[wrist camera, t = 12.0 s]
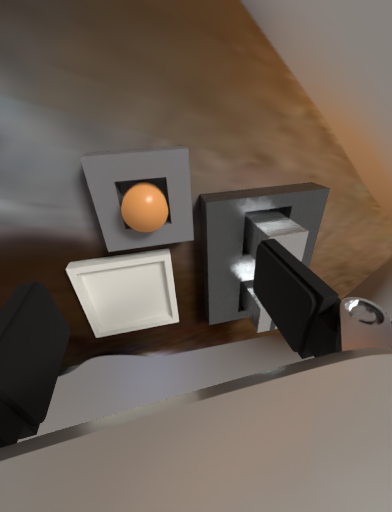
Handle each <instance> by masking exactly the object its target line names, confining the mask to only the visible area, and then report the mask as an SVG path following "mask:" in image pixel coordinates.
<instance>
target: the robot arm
mask: <svg viewBox="0 0 392 512" xmlns="http://www.w3.org/2000/svg"><path fill="white" fill-rule="evenodd" d="M253 292H254V294H255V295H256V297H257V298H258V300H259V301H260V303H261V304H262V306H263V307H264V309H265V310H266V312H267V313H268V315H269V316H270V318H271V319H272V321H273V322H274V324H275V325H276V327H277V328H278V330H279V331H280V333H281V334H282V335H283V337H284V338H285V340H286V341H287V343H288V344H289V345H290V347H291V349H292V350H293V351H294V352H298V354H299V355H300V357H301V358H302V359H303V358H307V357H311V356H314V357H315V358H313V359H308V360H304V361H301V362H297V363H293V364H289V365H286V366H282V367H278V368H275V369H271V370H268V371H264V372H261V373H257V374H254V375H250V376H246V377H243V378H239V379H236V380H232V381H228V382H225V383H222V384H218V385H214V386H211V387H207V388H204V389H200V390H197V391H194V392H190V393H186V394H183V395H179V396H176V397H173V398H169V399H165V400H162V401H158V402H155V403H151V404H148V405H145V406H141V407H138V408H134V409H130V410H127V411H124V412H120V413H117V414H113V415H110V416H107V417H103V418H100V419H96V420H93V421H89V422H86V423H82V424H79V425H76V426H72V427H69V428H65V429H62V430H58V431H55V432H52V433H48V434H45V435H41V436H38V437H35V438H32V439H29V440H25V441H22V442H19V443H17V441H18V439H22V438H26V437H30V436H33V435H36V434H37V431H38V428H39V425H40V423H42V422H43V421H44V419H45V417H46V415H47V411H48V407H49V404H50V401H51V398H52V394H53V391H54V388H55V384H56V381H57V378H58V374H59V371H60V368H61V364H62V361H63V358H64V354H65V351H66V347H67V344H68V341H69V337H70V327H69V325H68V324H67V322H66V320H65V319H64V317H63V315H62V314H61V312H60V310H59V309H58V307H57V305H56V303H55V302H54V300H53V298H52V297H51V295H50V293H49V292H48V290H47V288H46V287H45V285H43V284H39V283H38V282H31V283H26V284H20V285H18V286H17V288H16V289H15V291H14V292H13V293H12V295H11V296H10V298H9V299H8V301H7V302H6V304H5V305H4V306H3V308H2V309H1V311H0V512H392V321H391V320H390V318H389V316H388V314H387V313H386V312H385V310H384V309H383V308H381V307H380V306H378V305H377V304H375V303H373V302H371V301H369V300H366V299H363V298H356V297H351V298H350V297H349V298H346V299H343V300H342V301H341V300H340V299H339V298H338V295H339V294H337V293H336V292H335V291H334V290H333V289H332V288H331V287H329V286H328V285H327V284H326V283H325V282H324V281H322V280H321V279H320V278H319V277H318V276H317V275H316V274H314V273H313V272H312V271H311V270H310V269H309V268H308V267H306V266H305V265H304V264H303V263H302V262H301V261H300V260H298V259H297V258H296V257H295V256H294V255H293V254H292V253H290V252H289V251H288V250H287V249H286V248H285V247H284V246H282V245H281V244H280V243H279V242H278V241H277V240H275V239H267V240H262V241H261V242H260V244H258V245H257V251H256V261H255V270H254V279H253Z"/></svg>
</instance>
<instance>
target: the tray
mask: <svg viewBox="0 0 392 512" xmlns="http://www.w3.org/2000/svg"><path fill="white" fill-rule="evenodd" d="M66 271H67V274H68V276H69V278H70V280H71V283H72V285H73V287H74V289H75V291H76V294H77V296H78V298H79V300H80V303H81V305H82V307H83V309H84V312H85V314H86V316H87V318H88V321H89V323H90V325H91V327H92V330H93V332H94V334H95V336H96V338H99V337H104V336H109V335H114V334H119V333H124V332H129V331H135V330H140V329H145V328H150V327H155V326H160V325H165V324H170V323H176V322H179V318H178V310H177V302H176V295H175V287H174V280H173V272H172V264H171V257H170V251H169V248H166V249H159V250H152V251H145V252H138V253H131V254H124V255H117V256H110V257H103V258H96V259H89V260H82V261H75V262H69V264H68V266H67V268H66Z"/></svg>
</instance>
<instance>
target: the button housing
mask: <svg viewBox="0 0 392 512" xmlns="http://www.w3.org/2000/svg"><path fill="white" fill-rule="evenodd" d="M80 160H81V164H82V167H83V170H84V173H85V177H86V180H87V183H88V187H89V190H90V193H91V196H92V200H93V203H94V206H95V210H96V213H97V216H98V219H99V223H100V226H101V229H102V233H103V236H104V239H105V243H106V246H107V249H108V252H112V251H119V250H126V249H133V248H140V247H147V246H155V245H162V244H169V243H176V242H183V241H190V240H194V233H193V217H192V201H191V185H190V168H189V152H188V148H186V147H184V146H173V147H160V148H146V149H133V150H119V151H106V152H92V153H86V154H84V155H82V156H80ZM138 182H149V183H152V184H154V185H156V186H157V187H158V188H159V189H160V190H161V191H162V192H163V194H164V196H165V199H166V203H167V206H168V216H167V219H166V221H165V223H164V224H163V225H162V226H161V227H160V228H159V229H157V230H155V231H152V232H139V231H136V230H134V229H132V228H131V227H130V226H128V225H127V223H126V222H125V221H124V219H123V217H122V213H121V205H122V201H123V198H124V194H125V192H126V191H127V189H128V188H129V187H130V186H131V185H133V184H135V183H138Z"/></svg>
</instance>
